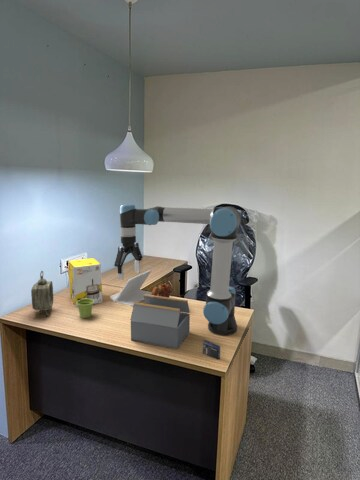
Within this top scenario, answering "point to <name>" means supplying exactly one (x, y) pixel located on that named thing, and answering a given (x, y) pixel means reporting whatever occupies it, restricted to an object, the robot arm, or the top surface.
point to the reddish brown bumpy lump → (161, 291)
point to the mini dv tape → (211, 349)
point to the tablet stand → (132, 290)
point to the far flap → (167, 302)
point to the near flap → (155, 314)
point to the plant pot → (85, 307)
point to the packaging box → (85, 280)
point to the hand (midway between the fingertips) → (129, 275)
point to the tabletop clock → (42, 295)
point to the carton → (161, 332)
